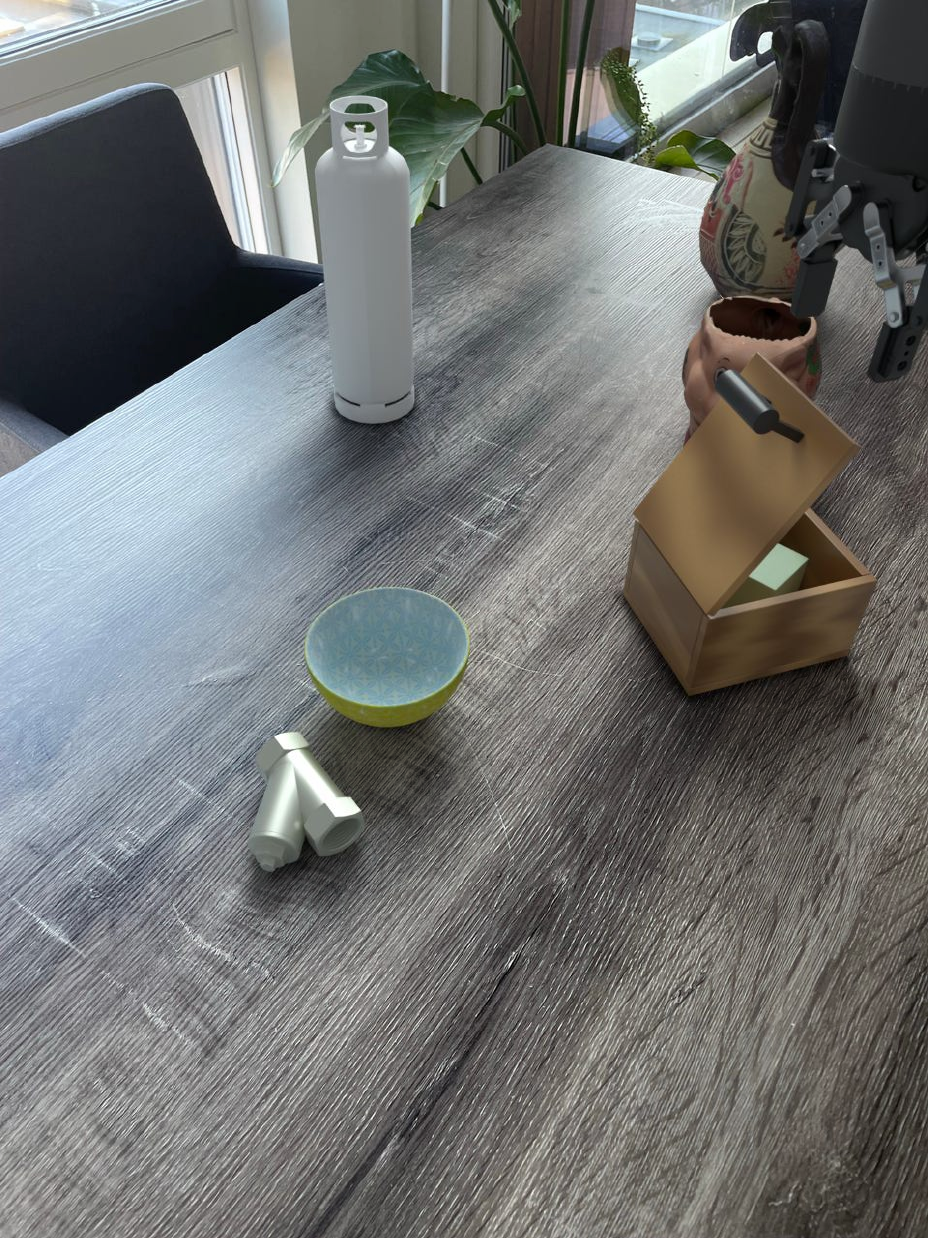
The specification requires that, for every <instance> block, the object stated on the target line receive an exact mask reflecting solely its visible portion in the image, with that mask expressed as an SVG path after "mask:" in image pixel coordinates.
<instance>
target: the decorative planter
mask: <svg viewBox="0 0 928 1238" xmlns="http://www.w3.org/2000/svg"><path fill="white" fill-rule="evenodd" d="M790 307H791V304H790V303H786V302H783V301H780V300H779V299H778V298H774V297H773V298H771V299H767V298H762V297H757V296H737V297H727V298H723V299H721V300H716V301H714V302H713V303H712V304H711V305H710V306H709V307H708V308H707V309H706V311H705V312H704V314H703V316H702V318H701V322H700V328H699V329H698V331H697V332H696V333H695V334H694V336H693V337H692V339H691V340H690V342H689V344H688V346H687V348H686V351H685V354H684V357H683V363H682V367H681V368H682V370H681V381H682V385H683V387H684V390H683V398H684V403H685V404H686V407H687V409H688V410H689V425H688V428H687V430H686V433H685V436H684V440H683V445H682V448H683V447H684V446H685V444H686V443H687V442H688V441H689V439H690V438H691V437H692V435H693V434H694V433H695V431H696V430H697V429H698V428H699V426H700V425H701V424H702V422H703V421H704V420H705V419H706V417H707V416H708V415H709V413H710V412H711V411H712V409H713V408H714V407H715V406H716V404H717V403H718V402H719V400H720V399H721V398H722V397H721V396H720V395H719V394H718V393H717V392H716V390H715V383H716V380H717V378H718V377H719V376H720V375H721V374H722V373H723V372H725V371H727V370H736V371H737V372H738V373H739V374H740V373H741V372H742V371H743V369H744V368H745V367H746V365H747V364H748V363H749V362H750V360H751V359H752V358H753V356H754V355H755V354H756V353H757V352H758V353H760V354H762V355H763V356H765V357H766V358H767V359H768V360H769V361H770V362H771V363H772V364H773V365H774V366H775V367H776V368H777V369H779V370H780V371H781V372H782V373H783V374H784V375H785V376H786V377H787V378H788V379H789V380H790V381H791V382H792V383H793V384H795V385H796V386H797V387H798V388H799V389H800V390H801V391H802V392H803V393H804V394H805V395H806V396H807V397H808V398H809V399H811V400H812V401H813V400H814V399H815V397H816V395H817V392H818V390H819V387H820V385H821V381H822V376H823V358H822V352H821V345H820V341H819V329H818V323H817V321H816V320H815V317H808V318H802V319H798V318H797V317H795V316H794V315H793V314H792V313H791V312H790Z"/></svg>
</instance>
